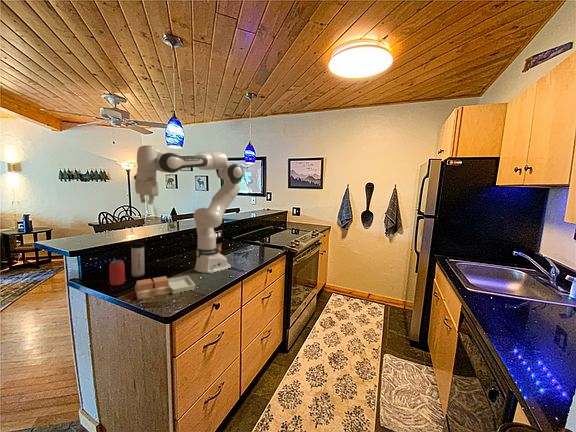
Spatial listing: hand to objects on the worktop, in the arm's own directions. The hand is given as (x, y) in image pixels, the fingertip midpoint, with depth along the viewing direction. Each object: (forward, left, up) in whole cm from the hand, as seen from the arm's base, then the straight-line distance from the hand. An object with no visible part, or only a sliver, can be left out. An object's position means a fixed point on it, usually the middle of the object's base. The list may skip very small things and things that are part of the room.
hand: (146, 203), depth 128 cm
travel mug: (+3, -12, -43) cm, 45 cm away
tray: (-13, +16, -43) cm, 47 cm away
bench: (0, +16, -43) cm, 46 cm away
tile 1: (+3, +16, -40) cm, 43 cm away
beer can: (+13, -4, -43) cm, 45 cm away
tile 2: (-4, +16, -40) cm, 43 cm away
